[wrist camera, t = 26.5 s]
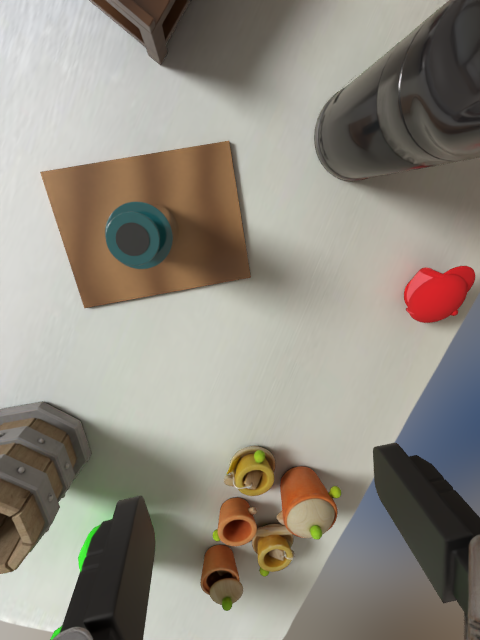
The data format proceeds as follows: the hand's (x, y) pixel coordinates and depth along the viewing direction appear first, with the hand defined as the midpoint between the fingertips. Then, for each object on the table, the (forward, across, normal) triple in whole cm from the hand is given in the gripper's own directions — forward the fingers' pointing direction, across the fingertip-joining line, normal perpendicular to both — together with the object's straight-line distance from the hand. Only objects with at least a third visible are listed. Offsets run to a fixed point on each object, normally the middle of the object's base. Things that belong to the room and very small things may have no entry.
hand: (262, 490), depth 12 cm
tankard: (+32, +30, +14) cm, 46 cm away
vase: (+32, +6, -8) cm, 33 cm away
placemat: (+32, +6, -8) cm, 34 cm away
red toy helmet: (+32, -26, +5) cm, 42 cm away
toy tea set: (+32, 0, +36) cm, 49 cm away
